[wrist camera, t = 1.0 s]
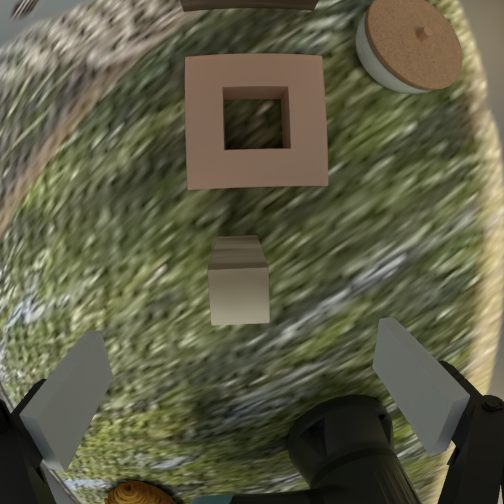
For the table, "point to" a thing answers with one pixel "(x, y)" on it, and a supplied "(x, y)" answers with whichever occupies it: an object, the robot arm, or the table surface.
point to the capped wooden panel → (247, 4)
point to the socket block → (255, 87)
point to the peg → (238, 281)
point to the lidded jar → (408, 46)
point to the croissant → (137, 494)
